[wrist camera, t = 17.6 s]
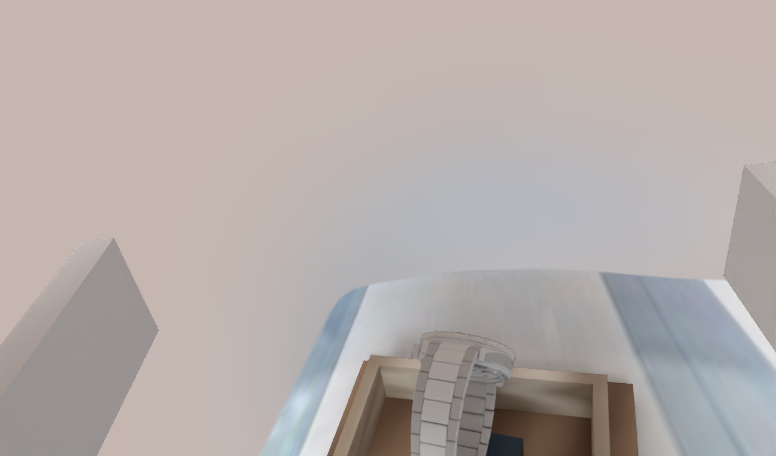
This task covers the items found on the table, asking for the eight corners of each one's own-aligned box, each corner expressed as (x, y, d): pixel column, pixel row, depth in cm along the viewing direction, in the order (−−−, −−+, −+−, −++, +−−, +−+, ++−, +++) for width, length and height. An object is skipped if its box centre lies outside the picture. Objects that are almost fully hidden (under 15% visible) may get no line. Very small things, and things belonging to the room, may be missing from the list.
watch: (530, 444, 36) (524, 303, 30) (504, 580, 30) (490, 437, 24) (439, 427, 38) (417, 292, 32) (397, 551, 32) (360, 412, 26)
